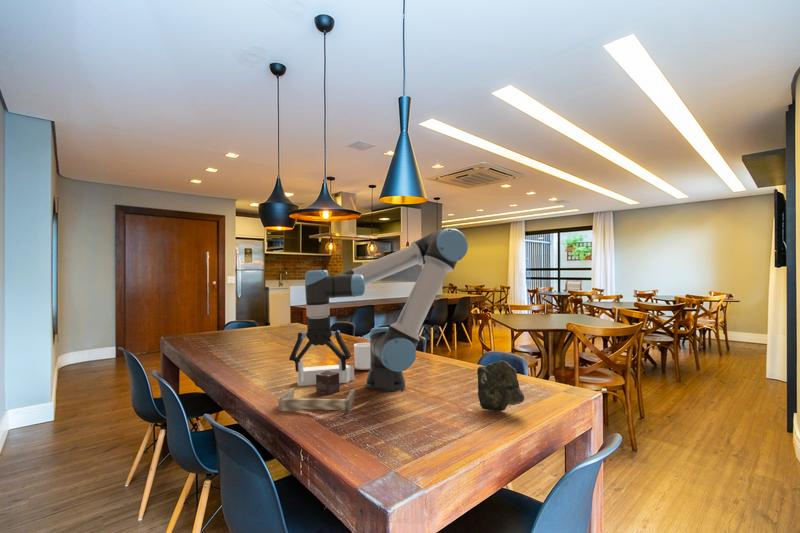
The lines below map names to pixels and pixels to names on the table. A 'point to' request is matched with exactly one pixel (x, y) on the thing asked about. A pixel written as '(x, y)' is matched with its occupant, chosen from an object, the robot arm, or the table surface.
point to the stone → (498, 386)
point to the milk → (311, 372)
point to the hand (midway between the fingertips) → (321, 380)
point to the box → (327, 382)
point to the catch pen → (314, 403)
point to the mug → (362, 356)
